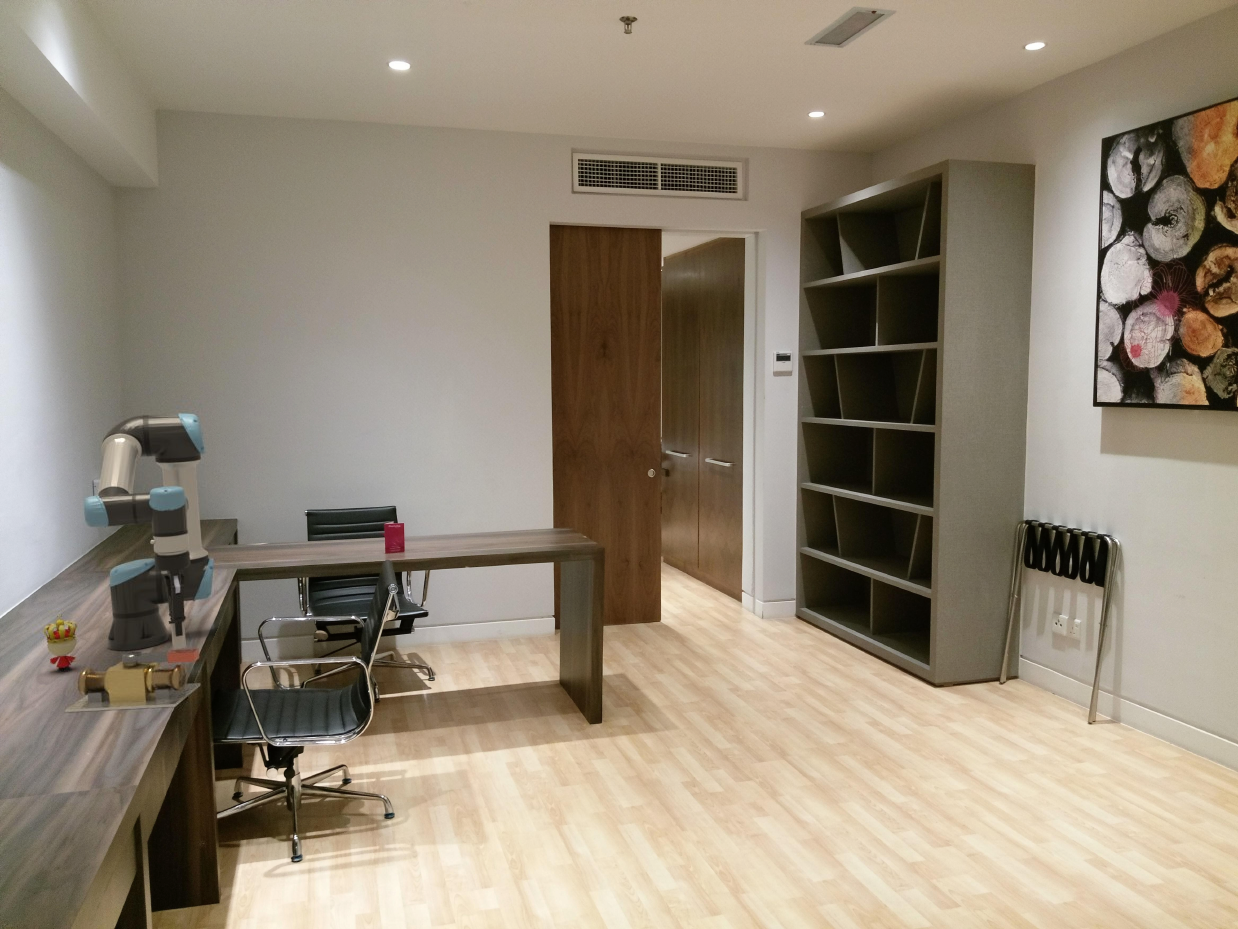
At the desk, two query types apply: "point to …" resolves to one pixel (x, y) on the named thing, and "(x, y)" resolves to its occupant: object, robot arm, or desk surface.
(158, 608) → the robot arm
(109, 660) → the desk surface
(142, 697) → the valve body
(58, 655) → the toy
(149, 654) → the lever
